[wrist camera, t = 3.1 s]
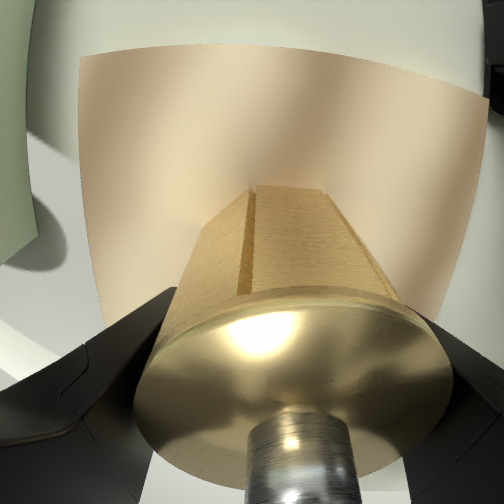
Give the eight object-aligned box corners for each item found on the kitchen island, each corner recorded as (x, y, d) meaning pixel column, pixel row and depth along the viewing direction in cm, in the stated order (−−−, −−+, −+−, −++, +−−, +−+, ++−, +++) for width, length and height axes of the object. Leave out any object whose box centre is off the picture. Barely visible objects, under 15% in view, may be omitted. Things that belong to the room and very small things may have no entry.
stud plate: (467, 97, 9) (569, 112, 4) (391, 372, 15) (421, 454, 10) (100, 61, 9) (-1, 48, 4) (129, 359, 15) (94, 444, 10)
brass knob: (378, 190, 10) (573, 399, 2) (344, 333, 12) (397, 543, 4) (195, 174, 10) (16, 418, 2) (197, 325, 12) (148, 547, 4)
